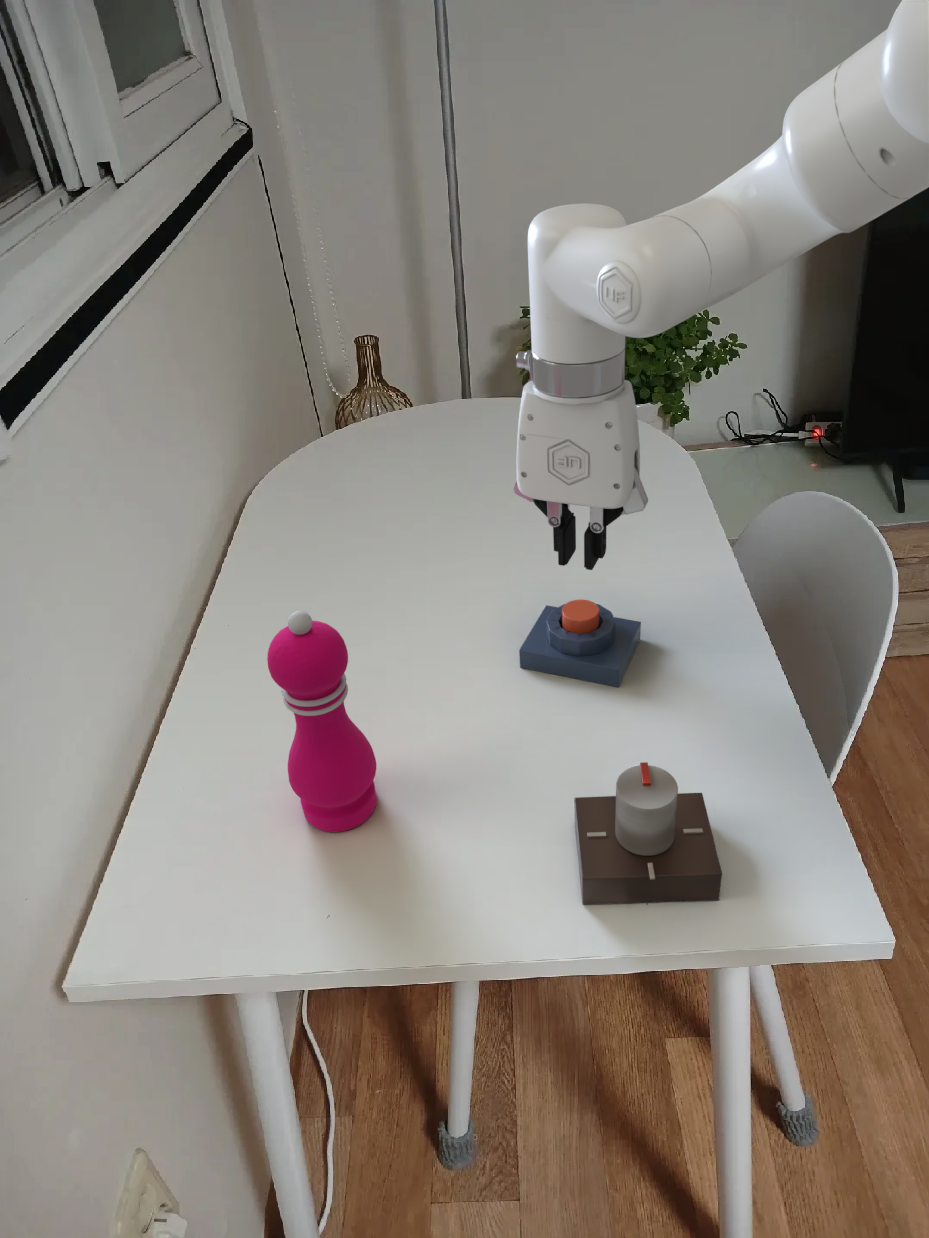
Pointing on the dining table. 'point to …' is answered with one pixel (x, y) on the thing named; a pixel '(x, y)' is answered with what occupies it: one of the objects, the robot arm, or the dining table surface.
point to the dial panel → (646, 857)
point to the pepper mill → (322, 726)
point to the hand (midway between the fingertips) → (580, 558)
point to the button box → (581, 648)
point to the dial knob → (645, 809)
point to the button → (580, 616)
